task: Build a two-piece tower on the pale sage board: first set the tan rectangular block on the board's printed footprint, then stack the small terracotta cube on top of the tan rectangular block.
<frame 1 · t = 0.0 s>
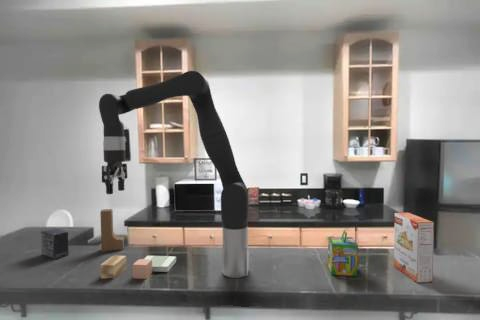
hand: (115, 192, 112), 29 cm above the worktop, fingers open, 8 cm apart
cube: (142, 275, 108), on the worktop
wooden block: (113, 249, 135), on the worktop
tan rectangular block: (114, 273, 110), on the worktop
small box: (55, 255, 128), on the worktop
chalk box: (341, 271, 111), on the worktop
cracker box: (411, 274, 107), on the worktop
pad: (157, 265, 116), on the worktop
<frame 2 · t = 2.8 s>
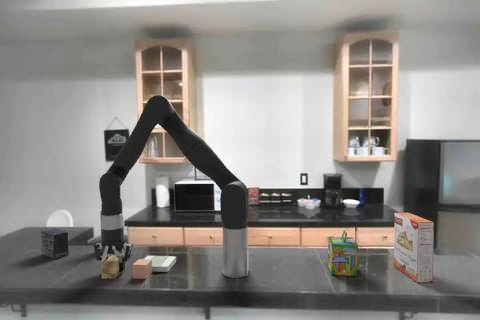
hand: (113, 271, 110), 1 cm above the worktop, fingers closed on tan rectangular block, 5 cm apart
tan rectangular block: (114, 273, 110), on the worktop, touching gripper
everything else where it was.
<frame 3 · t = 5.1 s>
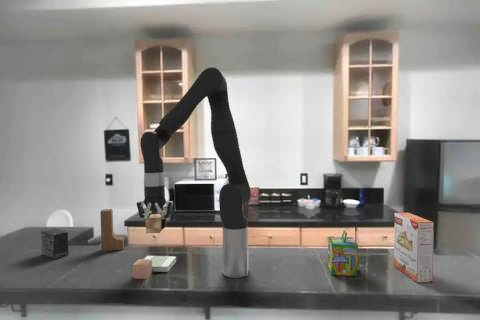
hand: (155, 228, 114), 15 cm above the worktop, fingers closed on tan rectangular block, 5 cm apart
tan rectangular block: (155, 229, 115), point 14 cm above the worktop, touching gripper
everything else where it was.
when the fingers open (3 cm above the worktop, at t = 7.8 s): tan rectangular block stays where it is, resting on pad.
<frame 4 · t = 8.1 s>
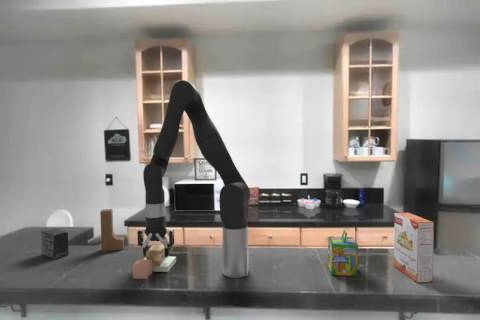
hand: (156, 256, 115), 4 cm above the worktop, fingers open, 7 cm apart
tan rectangular block: (156, 261, 116), point 2 cm above the worktop, touching pad
everything else where it was.
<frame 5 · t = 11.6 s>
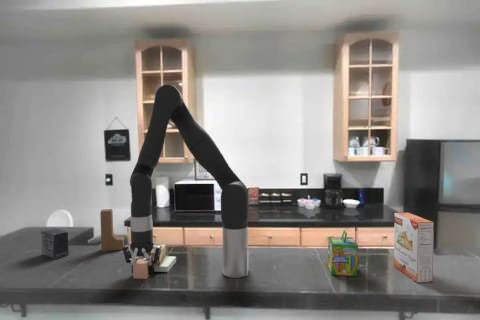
hand: (142, 274, 108), 0 cm above the worktop, fingers closed on cube, 5 cm apart
cube: (142, 275, 108), on the worktop, touching gripper
everything else where it was.
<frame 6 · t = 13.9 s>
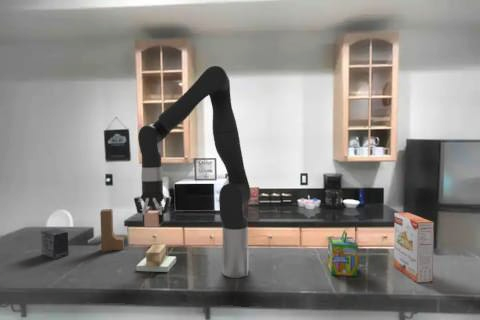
hand: (153, 223, 113), 17 cm above the worktop, fingers closed on cube, 5 cm apart
cube: (153, 225, 113), point 17 cm above the worktop, touching gripper
everything else where it was.
when the fingers open (8 cm above the worktop, at t = 16.2 s): cube stays where it is, resting on tan rectangular block.
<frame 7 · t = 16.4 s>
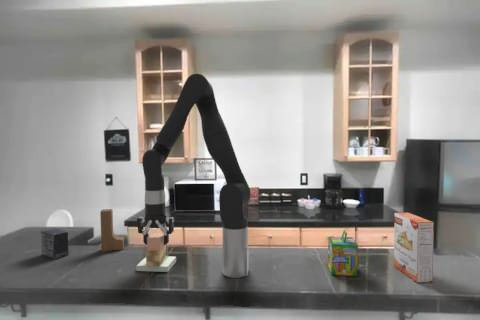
hand: (156, 244, 115), 9 cm above the worktop, fingers open, 7 cm apart
cube: (156, 248, 115), point 7 cm above the worktop, touching tan rectangular block
tan rectangular block: (156, 261, 116), point 2 cm above the worktop, touching cube, pad
everything else where it was.
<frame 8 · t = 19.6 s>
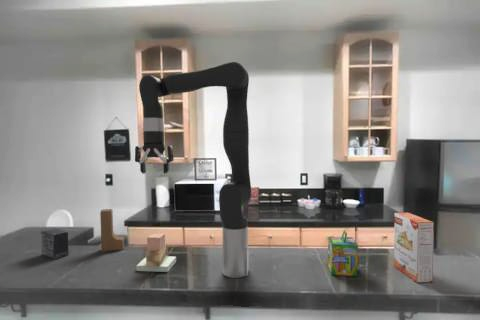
hand: (154, 173, 114), 36 cm above the worktop, fingers open, 8 cm apart
nothing on the worktop moved.
at the end: tan rectangular block inside the target area on the pad (0.2 cm from its centre), point 2.1 cm above the pad's base; cube inside the target area on the tan rectangular block (0.0 cm from its centre), point 5.0 cm above the tan rectangular block's base; cube tilted 0° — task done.
